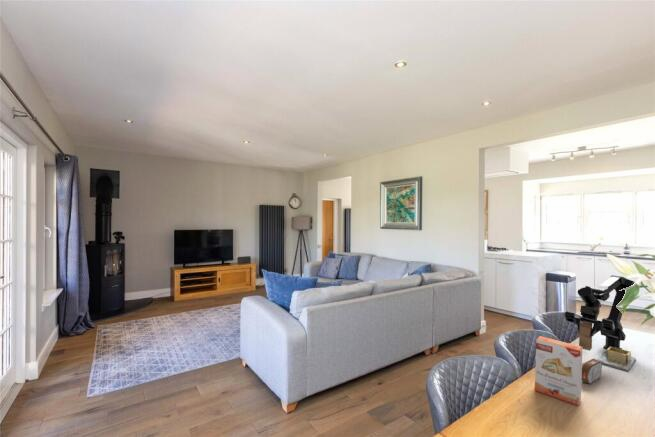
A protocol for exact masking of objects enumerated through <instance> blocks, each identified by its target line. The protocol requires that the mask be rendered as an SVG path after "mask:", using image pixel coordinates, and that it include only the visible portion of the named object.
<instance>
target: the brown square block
mask: <svg viewBox="0 0 655 437" xmlns="http://www.w3.org/2000/svg"><path fill="white" fill-rule="evenodd" d="M592 328H593V323H588V322H584V321H581V322H580V331H579V332H578V335H579V336H578V338H579V339H578V341H579V342H578V346H581V347H583V348H582V350H585V351H591V350H592V349H593V347H592V346H593V336H592V337H590V334H591V331H592Z"/></svg>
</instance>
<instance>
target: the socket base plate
mask: <svg viewBox="0 0 655 437" xmlns="http://www.w3.org/2000/svg"><path fill="white" fill-rule="evenodd" d="M631 352H632V351H630V350H627V349H623V348H622V349H619V348H615V347H611V346H610V347H609V348H608V349H606V350H605V351H604V352H603V353H602V354H601V355H600V356H599V358H597V360H598V361H600V362H602V365H604V366H608V367H611V368H614V369H616V370H617V369H618V370H620V371H624V372H629V371H630V370H631V368H632V366H634V363H635V362H636V361H637V358H636V357H634V356H632V355H631V354H632V353H631Z"/></svg>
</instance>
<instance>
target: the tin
mask: <svg viewBox="0 0 655 437" xmlns="http://www.w3.org/2000/svg"><path fill="white" fill-rule="evenodd" d="M602 368H603V364H602V362H600V361H598V359H595V358H592V359H590V360H588V361H585V362H584V363H582V380H581V382H584V383H586V384H589V385H590V384H593V383H594V382H595V381H598V380H599V379H600V377H601V375H602V371H603V370H602Z"/></svg>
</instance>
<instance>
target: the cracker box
mask: <svg viewBox="0 0 655 437" xmlns="http://www.w3.org/2000/svg"><path fill="white" fill-rule="evenodd" d="M535 342H536V343H535V344H536V345H535V368H534V369H535V370H534V372H535V373H534V391H536V392H539V393H542V394H544V395H546V396H550V397H553V398H556V399H558V400H561V401H563V402H566V403H569V404H572V405H575V406H577V407H579V406H580V403H581V400H582V381H581V380H582V366H583V349H582V348H583V347H581V346H579V345H576V344H573V343H568V342H564V341H561V340H556V339H553V338H550V337H546V336H545V337H544V336H541V335H540V336H538V337H537V338H536V341H535Z"/></svg>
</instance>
